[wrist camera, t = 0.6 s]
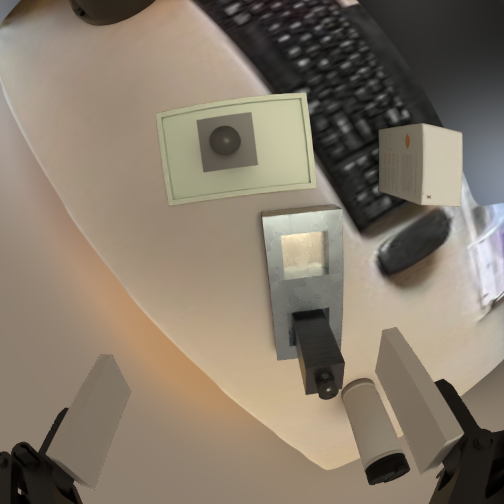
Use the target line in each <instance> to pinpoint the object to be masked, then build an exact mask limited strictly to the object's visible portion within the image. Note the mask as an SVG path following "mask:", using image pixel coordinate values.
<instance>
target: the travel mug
mask: <svg viewBox="0 0 504 504" xmlns="http://www.w3.org/2000/svg"><path fill="white" fill-rule="evenodd" d="M342 399H343V402H344V405H345V409H346V412H347V415H348V418H349V421H350V424H351V427H352V431H353V434H354V437H355V440H356V444H357V447H358V450H359V454H360V457H361V460H362V464H363V467H364V470H365V473H366V475H367V479H368V483H369V485H375V484H377V483H381V482H384V483H386V482H389V481H392V480H394V479H397V478H399V477H401V476H403V475H405V474H406V473H407V472H409V471H410V467H409V465H408V462H407V460H406V459H405V454H404V452H403V449H402V446H401V444H400V442H399V439H398V437H397V435H396V432H395V430H394V428H393V425H392V423H391V421H390V418H389V416H388V414H387V412H386V409H385V407H384V405H383V403H382V400H381V398H380V396H379V394H378V392H377V389H376V387H375V385H374V383H373V382H372V381H371V380H369V379H360V380H356V381H354V382H352V383H350V384H349V385H348V386H346V387H345V389H344V390H343V392H342Z"/></svg>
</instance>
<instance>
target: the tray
mask: <svg viewBox="0 0 504 504" xmlns="http://www.w3.org/2000/svg"><path fill="white" fill-rule="evenodd" d="M247 112H251V113H252V120H253V128H254V136H255V144H256V152H257V160H258V165H256V166H247V167H239V168H232V169H224V170H217V171H211V172H204V173H203V165H202V158H201V151H200V144H199V136H198V128H197V120H200V119H206V118H212V117H218V116H225V115H232V114H239V113H247ZM156 121H157V129H158V137H159V145H160V152H161V160H162V166H163V173H164V179H165V186H166V192H167V197H168V203H169V206H173V205H179V204H186V203H192V202H199V201H206V200H213V199H220V198H227V197H235V196H243V195H251V194H260V193H268V192H278V191H287V190H297V189H308V188H317V187H316V175H315V164H314V154H313V145H312V136H311V128H310V120H309V112H308V105H307V98H306V93H292V94H276V95H264V96H254V97H245V98H237V99H230V100H223V101H216V102H210V103H204V104H199V105H193V106H188V107H183V108H178V109H174V110H169V111H165V112H161V113H156Z"/></svg>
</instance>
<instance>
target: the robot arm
mask: <svg viewBox="0 0 504 504" xmlns="http://www.w3.org/2000/svg"><path fill="white" fill-rule="evenodd" d="M153 1H155V0H69V2H70V4H71V7H72V9H73V11H74V13H75V14H76V15H77V16H78V17H79V18H81V19H82V20H84V21H85V22H87V23H89V24H93V25H107V24H112V23H116V22H119V21H122V20H124V19H126V18H129V17H131V16H133V15H134V14H136V13H138V12H140V11H141V10H143V9H144V8H146V7H147V6H148V5H150V4H151V3H152V2H153ZM375 372H376V374H377V376H378V378H379V381H380V383H381V385H382V387H383V389H384V391H385V393H386V395H387V398H388V400H389V402H390V404H391V406H392V409H393V411H394V413H395V415H396V417H397V420H398V422H399V424H400V427H401V429H402V431H403V433H404V436H405V438H406V440H407V443H408V445H409V448H410V450H411V452H412V454H413V457H414V459H415V462H416V465H417V467H418V470H419V472H420V474H421V475H422V474H424V473H427V472H429V471H431V470H434V469H436V468H437V467H438V466H439V465H440V463H441V462H442V463H443V465H444V468H443V469H442V470H441V471H440V472H439V473H438V475H437V476H436V478H439V477H440V478H439V481H438V483H437V486H436V488H435V491H434V493H433V495H432V498H431V500H430V502H429V504H504V430H503V431H498V432H493V433H492V432H491V431H489V430H486V429H481V428H480V427H479V426H478V425H477V423H476V421H475V420H474V418H473V417H472V415H471V413H470V412H469V410H468V409H467V407H466V406H465V404H464V403H463V402H462V399H461V398H460V396H459V395H458V393H457V392H456V390H455V389H454V387H453V386H452V385H451V384H450V383H449V382H447V381H446V380H444V379H441V380H439V381H436V382H433V380H432V379H431V377H430V376H429V374H428V372H427V371H426V369H425V368H424V366H423V365H422V363H421V362H420V360H419V359H418V357H417V356H416V354H415V353H414V351H413V350H412V348H411V347H410V346H409V344H408V343H407V341H406V340H405V338H404V337H403V335H402V334H401V333H400V331H399V330H398V328H397V327H395V328H390V329H386V330H382V337H381V343H380V348H379V354H378V359H377V364H376V369H375ZM130 394H131V390H130V388H129V386H128V384H127V383H126V381H125V379H124V377H123V375H122V373H121V372H120V369H119V368H118V365H117V363H116V361H115V359H114V357H113V355H107V354H101V355H100V356H99V357H98V359H97V361H96V362H95V364H94V366H93V367H92V369H91V371H90V372H89V374H88V376H87V378H86V379H85V381H84V383H83V384H82V386H81V388H80V390H79V391H78V393H77V395H76V397H75V399H74V400H73V402H72V404H71V406H70V407H69V408H64V409H63V410H62V411H61V412H60V413H59V414H58V416H57V418H56V419H55V421H54V424H53V425H52V427H51V430H50V431H49V432H48V434H47V436H46V438H45V440H44V442H43V444H42V446H41V448H40V450H39V452H38V453H37V452H36V451H35V450H34V449H33V448H32V447H31V446H30V445H29V444H28V443H26V442H20V443H18V444H16V445H15V446H14V447H13V449H12V452H11V455H10V454H9V453H8V452H4V451H3V452H0V504H83V503H82V501H81V499H80V496H79V494H78V491H77V489H76V487H75V485H74V484H73V483H74V480H75V481H77V482H78V483H79V484H80V485H82V486H84V487H87V488H90V489H93V490H95V488H96V485H97V482H98V479H99V476H100V473H101V470H102V468H103V465H104V462H105V459H106V456H107V453H108V450H109V448H110V445H111V442H112V439H113V437H114V434H115V432H116V429H117V427H118V424H119V421H120V419H121V416H122V413H123V411H124V409H125V406H126V404H127V401H128V399H129V396H130ZM18 488H19V489H21V495H20V494H19V493H18Z"/></svg>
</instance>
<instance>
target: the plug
mask: <svg viewBox="0 0 504 504" xmlns="http://www.w3.org/2000/svg"><path fill="white" fill-rule="evenodd" d="M197 128H198V136H199V144H200V151H201V158H202V165H203V173H204V172H211V171H217V170H224V169H232V168H239V167H247V166H256V165H258V160H257V152H256V144H255V136H254V128H253V120H252V113H251V112H247V113H239V114H232V115H225V116H218V117H212V118H206V119H200V120H197Z"/></svg>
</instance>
